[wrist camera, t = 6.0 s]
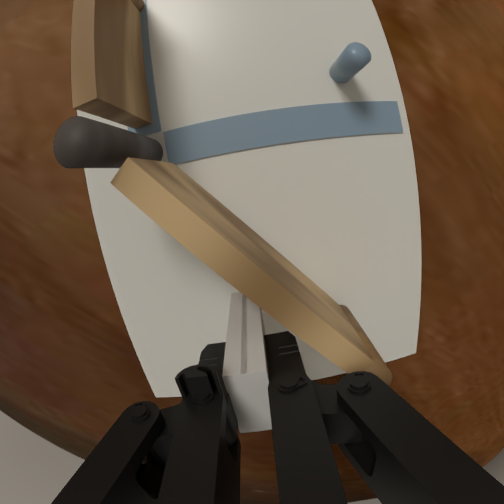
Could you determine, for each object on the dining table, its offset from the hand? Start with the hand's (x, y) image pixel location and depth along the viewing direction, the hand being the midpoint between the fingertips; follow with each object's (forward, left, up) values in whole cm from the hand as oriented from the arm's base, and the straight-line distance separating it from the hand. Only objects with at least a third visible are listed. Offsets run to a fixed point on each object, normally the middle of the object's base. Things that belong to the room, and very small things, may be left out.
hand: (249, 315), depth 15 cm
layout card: (+1, +6, -2) cm, 7 cm away
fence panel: (+1, +3, -1) cm, 3 cm away
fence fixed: (-4, +14, -2) cm, 14 cm away
